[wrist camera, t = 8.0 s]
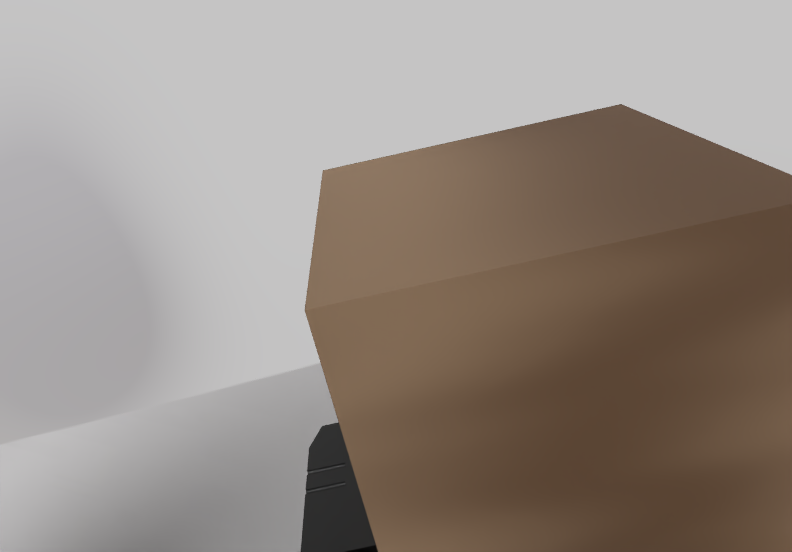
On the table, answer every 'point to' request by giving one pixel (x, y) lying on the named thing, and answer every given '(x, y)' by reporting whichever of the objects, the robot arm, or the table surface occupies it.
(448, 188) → the block
